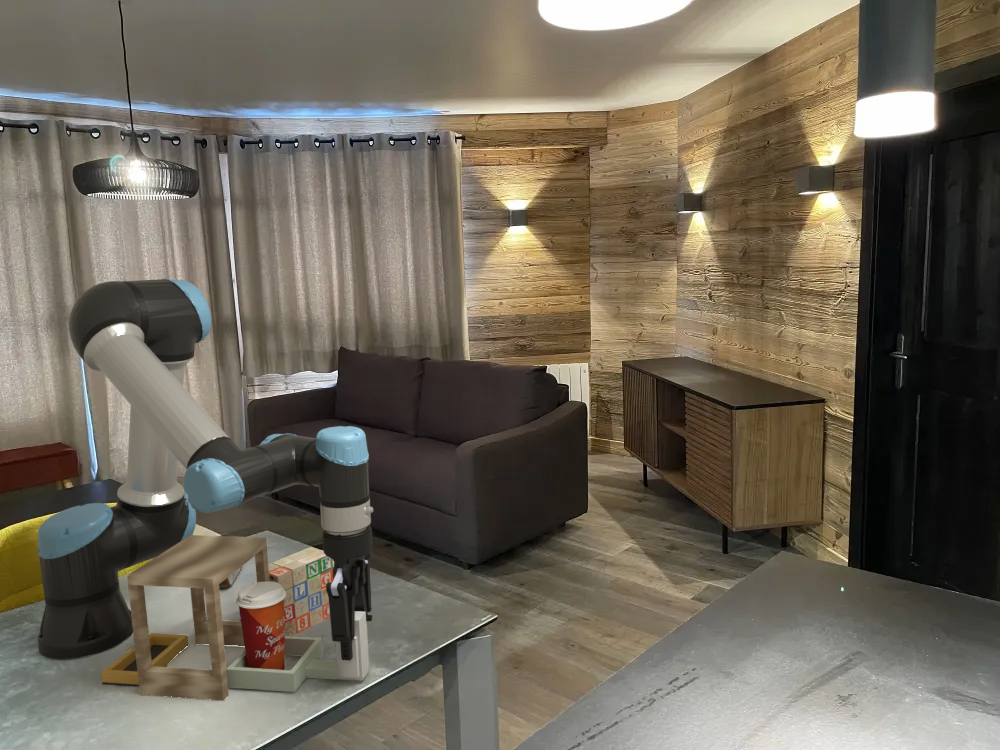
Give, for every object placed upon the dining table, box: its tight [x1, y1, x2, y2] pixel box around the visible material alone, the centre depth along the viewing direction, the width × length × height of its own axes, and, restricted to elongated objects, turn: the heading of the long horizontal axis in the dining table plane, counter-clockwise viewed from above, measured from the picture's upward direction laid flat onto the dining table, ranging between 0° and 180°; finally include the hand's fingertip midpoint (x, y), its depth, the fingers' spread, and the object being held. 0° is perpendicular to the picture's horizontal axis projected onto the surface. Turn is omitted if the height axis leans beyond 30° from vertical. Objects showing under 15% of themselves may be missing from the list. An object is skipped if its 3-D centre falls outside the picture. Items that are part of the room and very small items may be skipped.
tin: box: [219, 535, 243, 589], centre depth 157 cm, size 15×3×8 cm, turn 6°
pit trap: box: [100, 632, 190, 688], centre depth 124 cm, size 7×13×2 cm, turn 171°
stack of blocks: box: [268, 546, 372, 636], centre depth 140 cm, size 21×6×12 cm, turn 143°
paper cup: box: [235, 581, 286, 670], centre depth 120 cm, size 8×8×14 cm
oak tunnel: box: [126, 535, 269, 701], centre depth 121 cm, size 14×17×20 cm
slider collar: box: [226, 611, 370, 693], centre depth 119 cm, size 20×11×10 cm, turn 81°
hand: (355, 668), depth 118 cm, fingers open, 4 cm apart
